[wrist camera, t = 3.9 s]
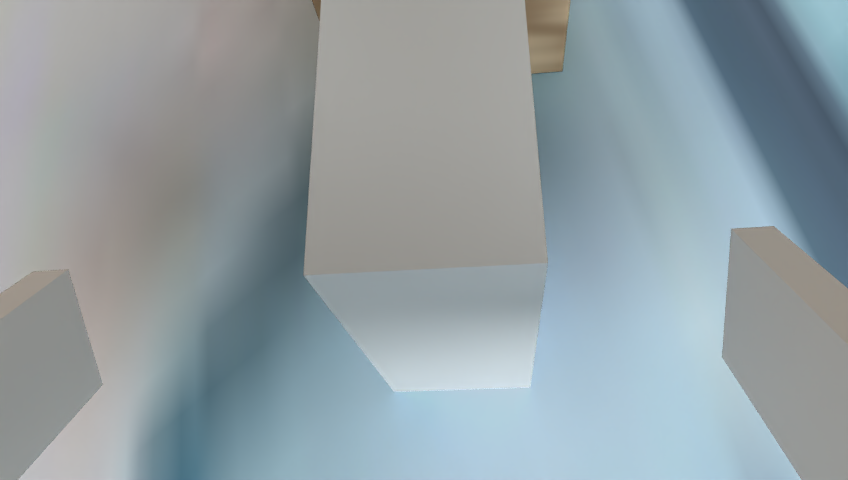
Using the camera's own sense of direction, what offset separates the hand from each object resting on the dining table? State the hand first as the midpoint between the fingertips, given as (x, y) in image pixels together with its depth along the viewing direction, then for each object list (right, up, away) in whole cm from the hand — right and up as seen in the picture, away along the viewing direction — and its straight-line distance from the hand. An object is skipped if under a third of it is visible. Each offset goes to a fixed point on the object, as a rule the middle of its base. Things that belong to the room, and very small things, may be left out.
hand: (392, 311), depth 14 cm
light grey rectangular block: (+2, +5, +10) cm, 11 cm away
